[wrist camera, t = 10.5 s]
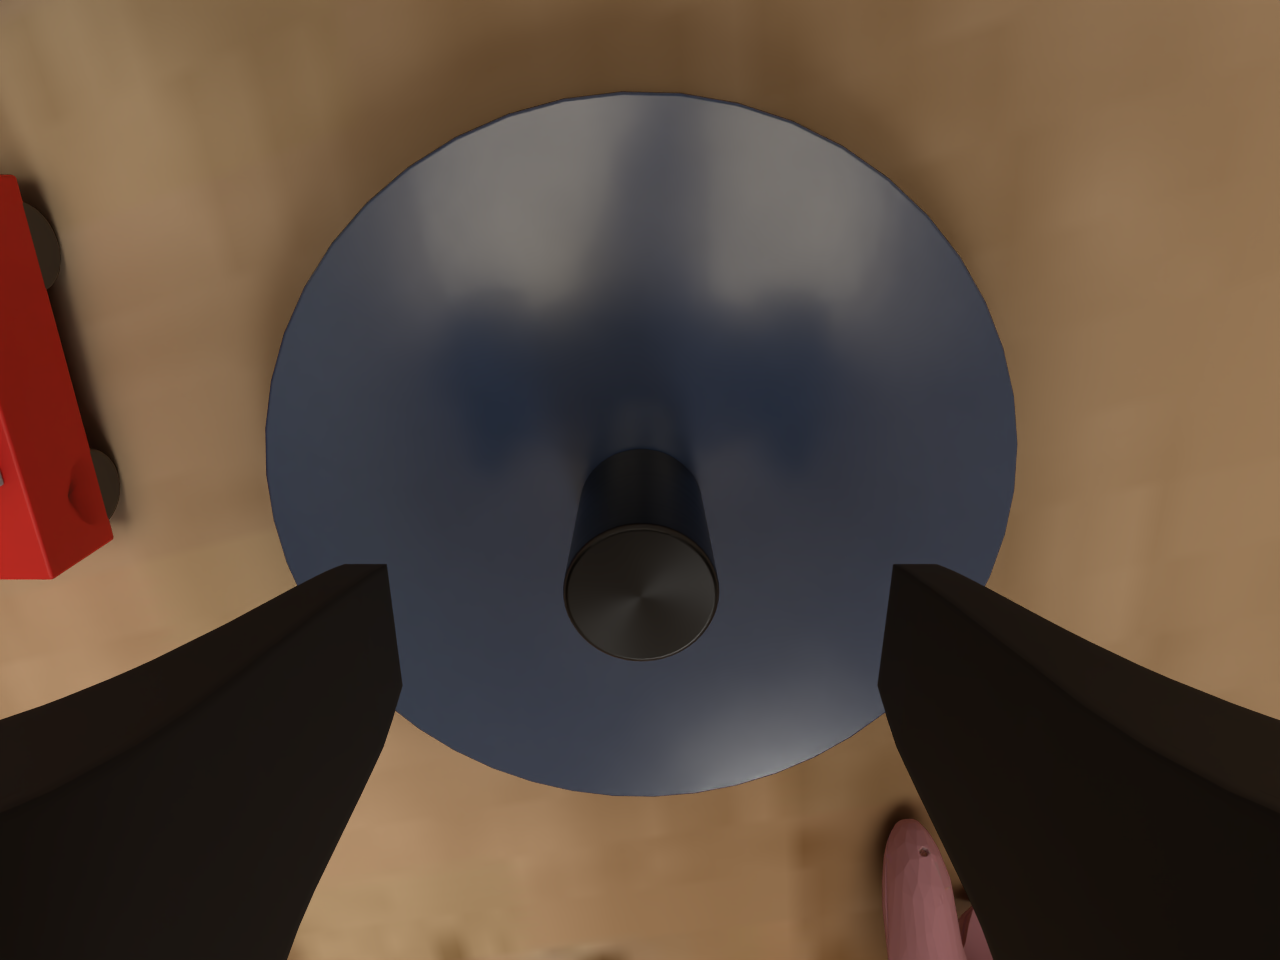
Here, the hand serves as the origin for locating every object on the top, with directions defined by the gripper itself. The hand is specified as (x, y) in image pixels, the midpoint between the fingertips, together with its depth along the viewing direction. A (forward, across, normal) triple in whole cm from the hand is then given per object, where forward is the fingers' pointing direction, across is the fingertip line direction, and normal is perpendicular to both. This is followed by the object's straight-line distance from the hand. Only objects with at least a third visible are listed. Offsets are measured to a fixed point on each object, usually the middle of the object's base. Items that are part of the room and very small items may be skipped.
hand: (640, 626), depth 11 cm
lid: (+5, 0, 0) cm, 5 cm away
